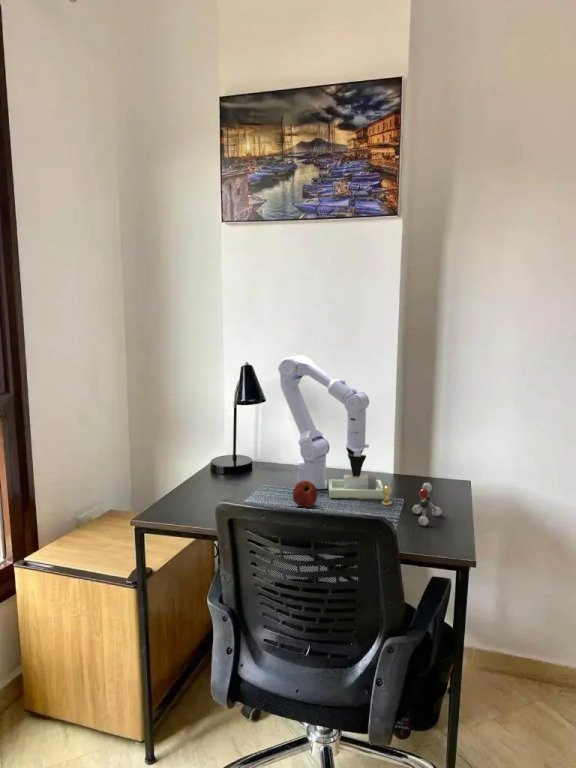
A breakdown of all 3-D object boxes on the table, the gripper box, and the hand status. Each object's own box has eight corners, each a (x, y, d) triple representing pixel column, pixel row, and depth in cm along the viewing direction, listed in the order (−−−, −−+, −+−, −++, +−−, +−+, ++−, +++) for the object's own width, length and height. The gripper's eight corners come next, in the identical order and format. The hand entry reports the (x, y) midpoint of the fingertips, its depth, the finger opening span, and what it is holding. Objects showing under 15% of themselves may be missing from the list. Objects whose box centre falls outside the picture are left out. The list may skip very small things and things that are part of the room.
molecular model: (441, 514, 170) (442, 479, 168) (438, 530, 159) (439, 492, 157) (412, 511, 173) (413, 476, 171) (407, 526, 161) (408, 489, 160)
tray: (329, 498, 184) (329, 490, 183) (328, 487, 195) (328, 479, 194) (384, 499, 183) (384, 490, 182) (380, 488, 194) (380, 479, 193)
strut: (344, 493, 187) (344, 478, 186) (343, 489, 191) (343, 474, 190) (375, 493, 186) (376, 478, 186) (374, 489, 190) (374, 474, 189)
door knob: (382, 505, 178) (382, 487, 177) (381, 502, 180) (381, 484, 180) (392, 505, 177) (392, 487, 177) (390, 502, 180) (391, 484, 180)
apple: (291, 510, 173) (291, 484, 172) (293, 501, 181) (293, 476, 180) (316, 511, 173) (317, 484, 172) (317, 502, 181) (317, 477, 180)
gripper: (371, 436, 178) (370, 479, 180) (367, 426, 193) (366, 466, 195) (347, 436, 179) (347, 479, 181) (345, 425, 193) (344, 466, 195)
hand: (355, 472), depth 188 cm, fingers open, 7 cm apart
